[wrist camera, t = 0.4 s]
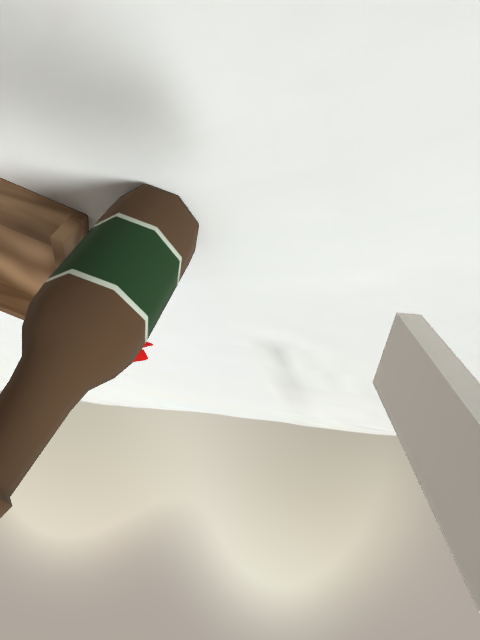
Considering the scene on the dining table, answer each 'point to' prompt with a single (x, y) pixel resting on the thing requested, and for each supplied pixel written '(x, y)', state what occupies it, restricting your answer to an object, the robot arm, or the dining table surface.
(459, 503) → the robot arm
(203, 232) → the dining table surface
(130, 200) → the beer bottle
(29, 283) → the box
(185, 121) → the dining table surface
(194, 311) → the dining table surface
